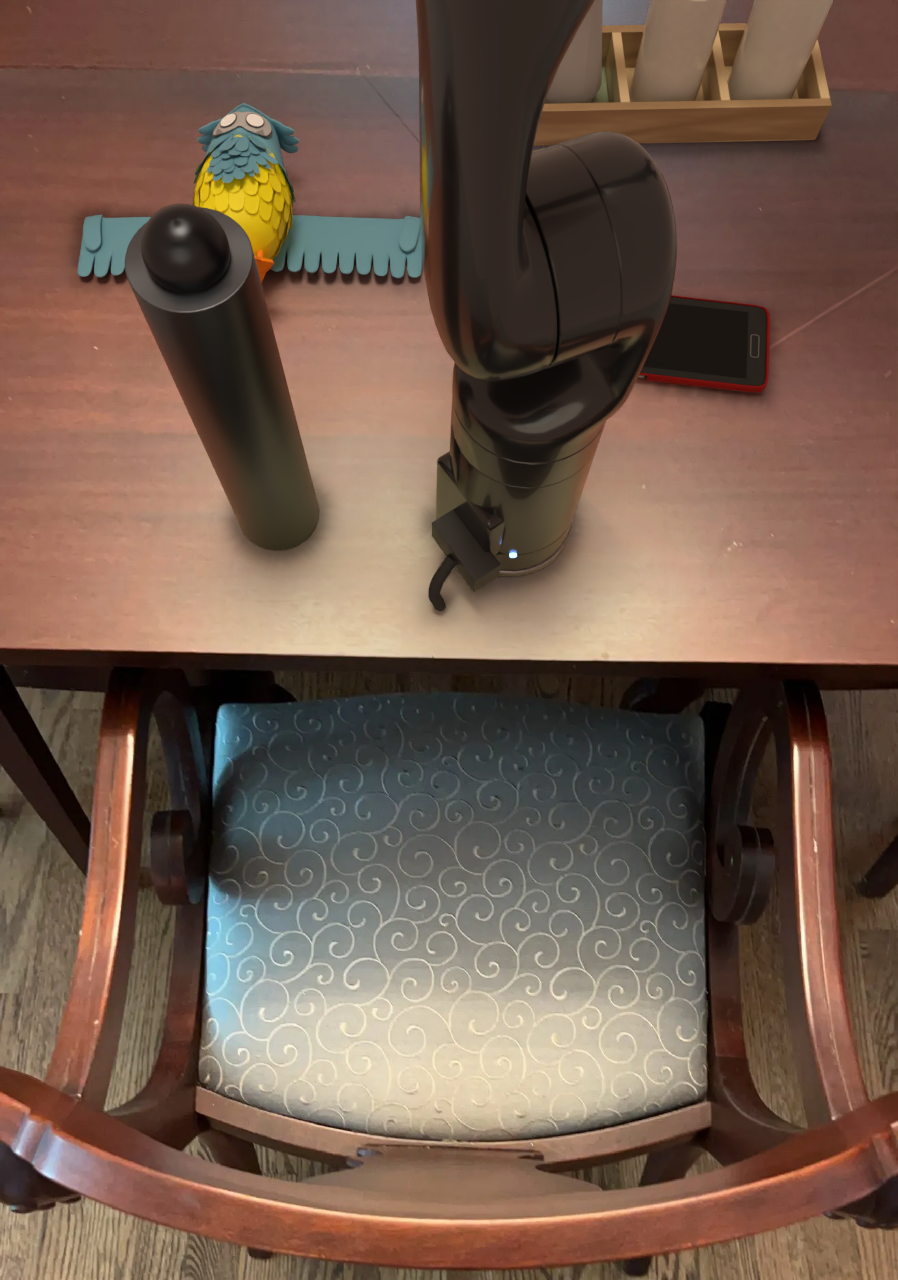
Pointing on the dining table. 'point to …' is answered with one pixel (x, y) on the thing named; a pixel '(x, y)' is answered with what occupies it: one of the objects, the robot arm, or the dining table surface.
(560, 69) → the salt shaker
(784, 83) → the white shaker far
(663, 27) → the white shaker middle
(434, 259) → the robot arm
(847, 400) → the dining table surface
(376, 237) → the owl figurine
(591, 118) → the spice rack
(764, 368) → the cell phone
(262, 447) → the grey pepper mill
